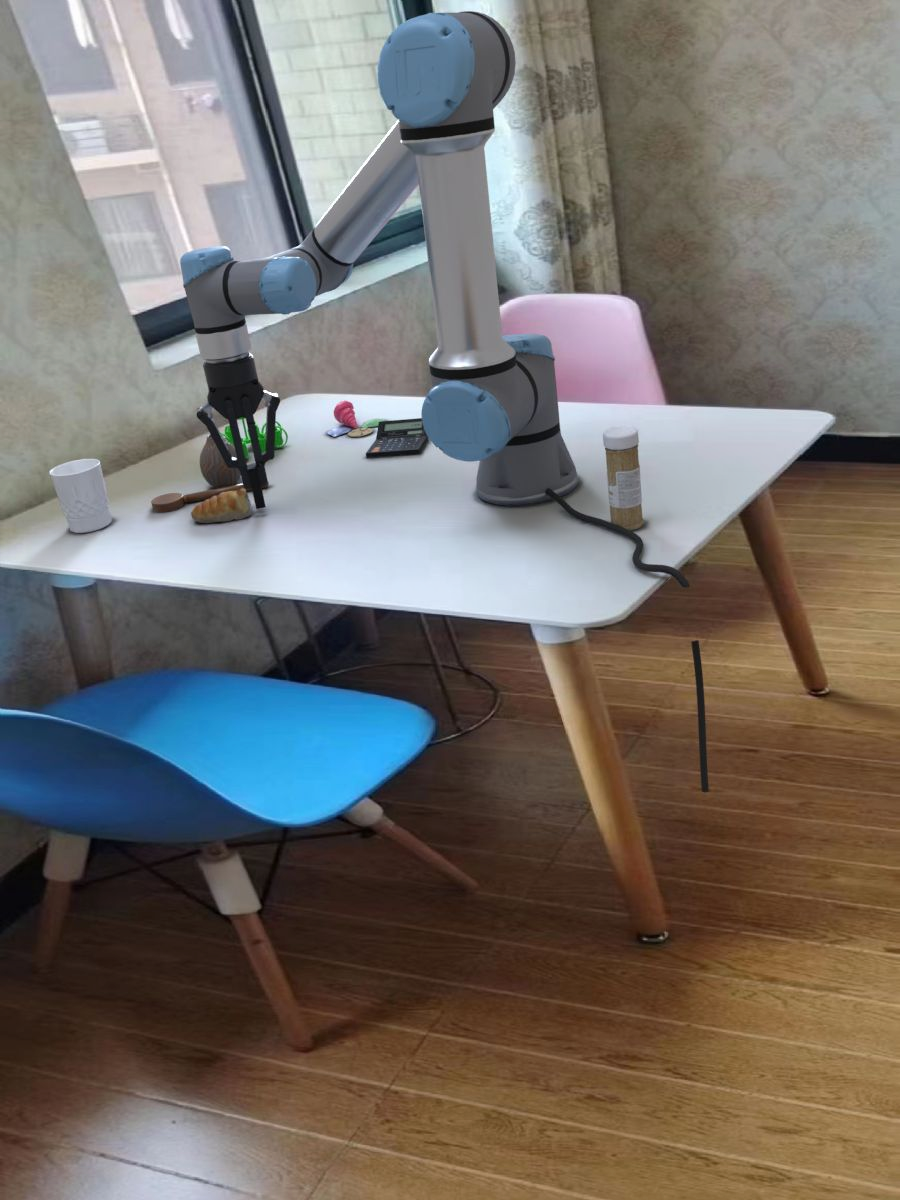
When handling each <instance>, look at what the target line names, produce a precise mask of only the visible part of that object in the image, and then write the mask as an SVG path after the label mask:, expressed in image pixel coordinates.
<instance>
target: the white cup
mask: <svg viewBox="0 0 900 1200" xmlns="http://www.w3.org/2000/svg"><path fill="white" fill-rule="evenodd" d="M48 474H49V476H50V479H51V482H52V486H53V488H54V492H55V494H56V497H57V499H58V503H59V505H60V508H61V510H62V513H63V515H64V517H65V519H66V522H67V526H68V528H69V531H70V532H72V533H74V534H85V533H90V532H91V533H92V532H95V531H98V530H101V529H103V528H106V527H107V526H109V525H110V524H111V523H112V522H113V518H112V514H111V509H110V502H109V495H108V492H107V485H106V483H105V478H104V473H103V470H102V465H101V461H100V460H99V459H97V458H82V459H81V458H80V459H75V460H71V461H67V462H64V463H61V464H59V465H56V466H54V467H53V468H51V469H50V470H49V472H48Z"/></svg>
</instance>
